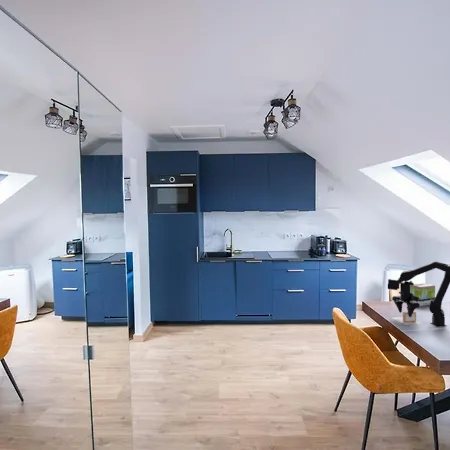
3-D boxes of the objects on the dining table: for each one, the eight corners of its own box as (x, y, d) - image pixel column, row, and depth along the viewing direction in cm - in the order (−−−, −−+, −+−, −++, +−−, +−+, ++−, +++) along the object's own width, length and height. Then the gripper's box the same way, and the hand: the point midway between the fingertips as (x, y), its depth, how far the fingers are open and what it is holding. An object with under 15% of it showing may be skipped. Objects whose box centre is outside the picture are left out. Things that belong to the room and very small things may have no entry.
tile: (416, 321, 203) (416, 312, 203) (404, 322, 202) (404, 313, 202) (414, 320, 205) (414, 311, 205) (402, 321, 204) (402, 312, 204)
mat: (423, 324, 199) (423, 323, 199) (405, 325, 198) (405, 324, 198) (407, 317, 213) (407, 316, 213) (391, 318, 212) (391, 317, 212)
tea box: (421, 306, 237) (421, 287, 237) (409, 303, 247) (409, 284, 246) (435, 304, 243) (435, 285, 242) (423, 300, 252) (423, 282, 252)
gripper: (427, 293, 198) (427, 318, 198) (406, 287, 216) (406, 309, 217) (411, 294, 196) (411, 319, 197) (391, 287, 215) (391, 310, 215)
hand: (405, 314), depth 207 cm, fingers open, 9 cm apart
